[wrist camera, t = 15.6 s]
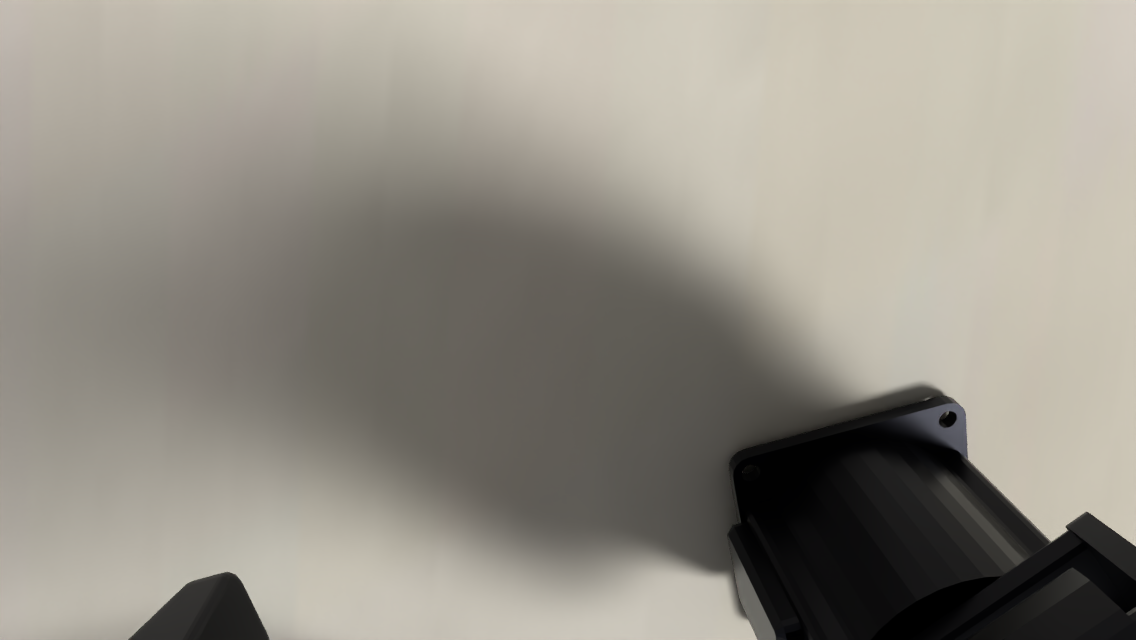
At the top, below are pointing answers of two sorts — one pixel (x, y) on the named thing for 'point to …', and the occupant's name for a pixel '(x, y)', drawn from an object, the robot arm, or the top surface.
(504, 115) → the top surface
